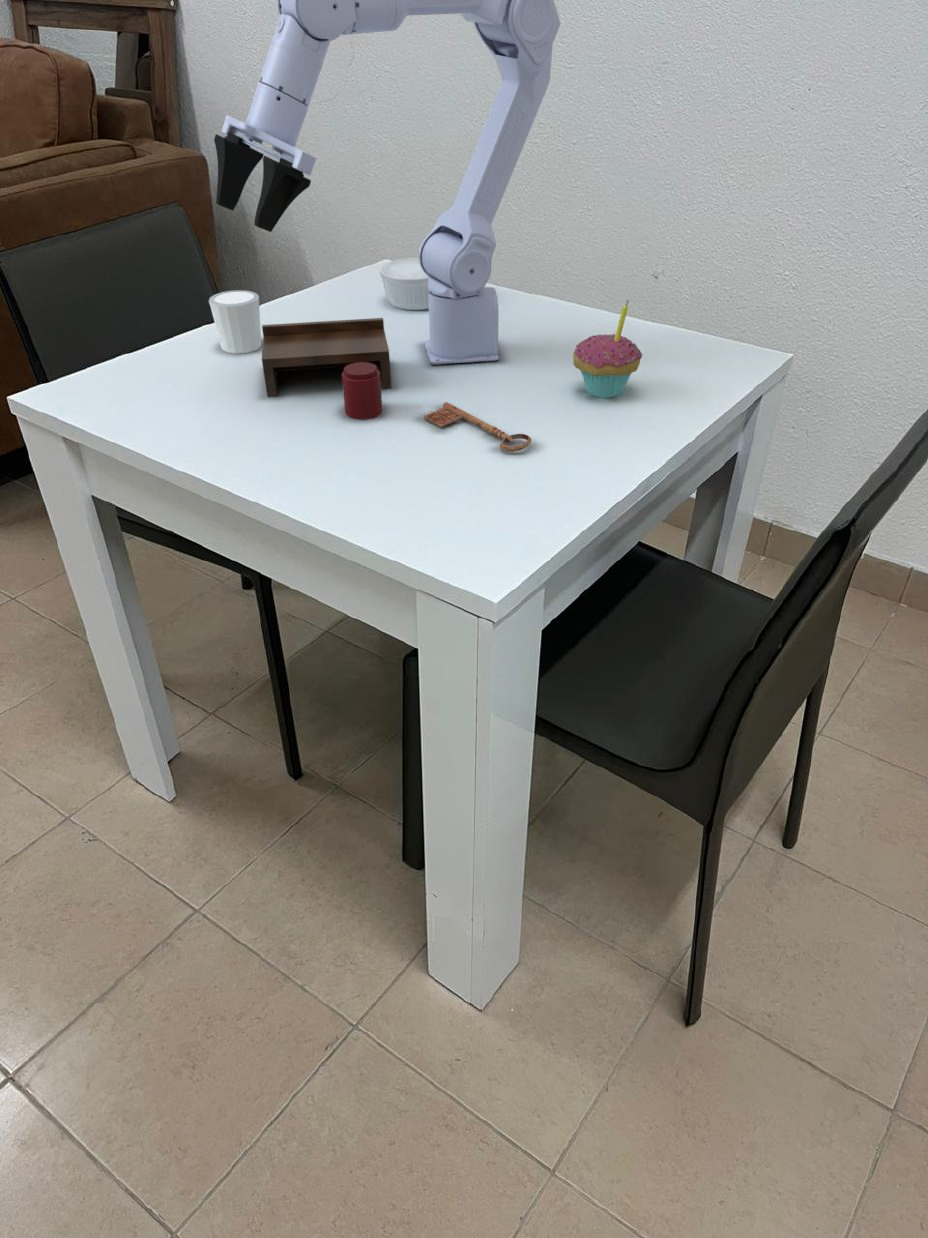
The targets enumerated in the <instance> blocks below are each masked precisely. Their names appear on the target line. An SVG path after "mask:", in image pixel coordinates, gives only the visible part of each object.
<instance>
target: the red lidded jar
mask: <svg viewBox="0 0 928 1238" xmlns="http://www.w3.org/2000/svg"><path fill="white" fill-rule="evenodd" d="M341 378H342V379H341V381H342V391H343V392H342V393H343V403H344V404H343V405H344V412H345V415H346V416H347V417H349V418H351V419H355V420H368V419H369V420H370V419H373V418H376V417H379V416H380V415H381V414H382V412H383V402H382V385H381V380H380V372H379V370H378V366H377V365H374V364H372V363H367V362H357V363H352V364H349V365H347V366H346V367H343V371H342V373H341Z"/></svg>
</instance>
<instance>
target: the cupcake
mask: <svg viewBox="0 0 928 1238" xmlns="http://www.w3.org/2000/svg"><path fill="white" fill-rule="evenodd" d="M629 302H630V299H627V300H626V303H625V304H624V305H622V308H621V312H620V317H619V319H618V323H617V328H616V331H615V333H613V334H611V333H609V334H606V333H604V334H596V335H591V336H588V337H587V338H585V339H584V340H582V341H580V342H579V343H578V344H576V345H575V349H574V351H573V355H572V356H573V357H572V358H573V359H572V360H573V362H572V365H573V367H575V368H576V369H577V370H579V371H580V373H581V376H582V378H583V383H584V385H585V386H584V387H585V391H586V392H587V394H589V395H590V396H593V397H596V398H601V399H610V398H615V397H619V396H621V395H622V394H623V393H624V390H625V388H626V385H627V383H628V381H629V380H630V379H629V378H630V377H631V375H632V373H635V372H636V371H638V369H639V367H640V363H641V359H642V358H643V353H642V352H641V350H640V348H639V347H638V346H637V344H636V343H634V342H633V340H631V339H629V338H627V337H625V336H622V333H623V329H624V325H625V322H626V319H627V318H626V317H627V314H628V308H629V306H628V304H629Z"/></svg>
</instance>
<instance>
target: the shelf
mask: <svg viewBox="0 0 928 1238" xmlns="http://www.w3.org/2000/svg"><path fill="white" fill-rule="evenodd" d="M384 322H385V321H384V318H383V317H374V318H357V319H355V318H354V319H340V320H323V321H307V322H291V323H273V324H262V325H261V330H262V337H263V338H262V352H261V363H262V369H263V371H262V372H263V377H264V382H265V390H266V397H268V398H269V397H277V395H278V393H277V392H278V372H287V371H288V372H289V371H303V370H304V371H305V370H317V369H318V370H319V369H334V368H335V369H336V368H345V367H346V366H347V365H349V364H352V363H357V362H367V363H372V364H374V365H376V366H377V369H378V370H379V372H380V383H381V390H382V389H383V390H385V389H392V376H391V375H392V374H391V361H390V359H391V357H390V350H389V349H390V348H389V345H388V340H387V336H386V332H385V323H384Z"/></svg>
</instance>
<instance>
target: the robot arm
mask: <svg viewBox="0 0 928 1238" xmlns="http://www.w3.org/2000/svg"><path fill="white" fill-rule="evenodd" d="M276 10H277V14H278V21H277V25H276V28H275V31H274V33H273V36H272V39H271V42H270V45H269V48H268V51H267V53H266V58H265V61H264V64H263V67H262V70H261V73H260V76H259V79H258V83H257V86H256V89H255V93H254V95H253V98H252V102H251V105H250V108H249V111H248V115H247V116H246V117H247V118H246V121H245V122H244V121H241V120H239V119H236V118H234V117H232V116H230V115H228V114H226V116H225V119H224V122H223V126H222V128H221V133H223V134H225V136H224V137H223V136H221V135H219V134H217V133H216V134H215V135H214V138H213V142H214V145H215V151H216V158H217V159H216V160H217V185H216V199H215V200H216V202H215V204H216V205H217V206H220V207H223V208H225V209H228V210H230V211H234V210H235V208H236V206H237V205H238V203H239V200H240V198H241V196H242V193H243V191H244V188H245V186H246V183H247V181H248V179H249V177H250V176H251V175H252V173H253V171H254V169H255V168H256V167H257V165H258V164H259V163H260V162H261V161H262V168H263V169H262V172H263V173H262V184H261V191H260V195H259V200H258V204H257V207H256V211H255V215H254V222H253V223H254V224H253V226H255V227H257V228H258V229H262V230H265V231H267V232H269V233H272V232H273V230H274V228H275V227H276V225H277V224H278V223H279V221H280V220H281V218H282V216H283V215H284V213H285V212H286V210H287V209H288V208H289V206H290V205H291V204H292V203H293V202H294V201H295V199H296V198H297V197H298V196H300V195H301V194H302V193H303V192H304V191H305V190H307V189H308V188H309V187H310V186H311V183H312V179H309V178H308V177H305V175H308V176H311V174H312V172H313V168H314V166H315V162H316V160H317V157H315V156H314V155H311V154H309V153H307V152H305V151H303V150H302V149H299V148H296V145H297V143H298V140H299V136H300V133H301V130H302V127H303V124H304V121H305V119H306V116H307V113H308V110H309V107H310V104H311V101H312V97H313V94H314V92H315V89H316V86H317V84H318V83H317V82H318V81H319V77H320V74H321V71H322V68H323V65H324V62H325V58H326V55H327V53H328V49H329V46H330V43H331V42H332V41H335V40H336V39H339V38H340V36H341V35H343V36H348V35H349V36H350V35H359V34H361V35H362V34H370V33H383V32H394V31H397V30H398V29H399V28H400V26H402V24H403V22H404V21H405V19H407V16H409V17H410V16H429V15H430V16H431V15H432V16H433V15H457V14H459V15H461V17H462V18H463V19H464V20H465V21H466V22H469V23H472V24H473V27H474V29H475V31H476V33H477V35H478V37H479V38H480V39H481V40H482V42H483V43H484V45H485V46H486V48H487V50H488V51H489V53H490V54H491V55H492V56H493V58H494V60H495V62H496V65H497V68H498V71H499V74H500V77H501V83H500V86H499V88H498V91H497V93H496V96H495V98H494V101H493V103H492V106H491V108H490V111H489V113H488V116H487V118H486V121H485V124H484V126H483V128H482V132H481V134H480V136H479V139H478V141H477V144H476V146H475V149H474V152H473V154H472V157H471V160H470V162H469V164H468V167H467V170H466V171H465V174H464V177H463V180H462V182H461V185H460V187H459V190H458V191H457V194H456V198H455V199H454V202H453V204H452V206H451V207H450V208H448V209H447V210H446V211H444V212H443V213H442V214H441V215H439V216H438V218H437V219H436V222H435V225H434V227H433V228H432V230H431V231H430V232H429V233H428V234H427V235H426V236H425V237H424V239H423V240H422V241H421V244H420V245H419V249H418V254H417V255H418V256H417V257H419V264H420V267H421V268H422V270H423V271H424V273H425V274H427V275H428V297H429V309H428V319H429V320H428V322H429V323H428V325H429V340H425V341H424V347H425V351H426V355H427V357H428V360H429V363H430V364H431V365H447V364H449V365H450V364H460V363H461V364H464V363H478V362H492V361H493V362H494V361H498V360H499V359H500V355H499V300H498V294H497V290H496V288H495V287H492V286H487V283H488V282H489V280H490V278H491V273H492V260H493V254H494V252H495V249H496V247H497V241H496V237H495V234H494V231H493V226H492V223H493V221H494V219H495V216H496V214H497V212H498V209H499V208H500V207H499V206H500V204H501V202H502V199H503V197H504V194H505V192H506V189H507V187H508V185H509V182H510V180H511V178H512V175H513V173H514V170H515V167H516V165H517V163H518V160H519V158H520V156H521V153H522V151H523V148H524V146H525V143H526V141H527V139H528V136H529V134H530V131H531V129H532V126H533V124H534V122H535V119H536V117H537V114H538V111H539V109H540V107H541V106H542V105H541V104H542V102H543V100H544V97H545V95H546V93H547V90H548V87H549V83H550V82H551V70H552V59H553V58H552V57H553V56H552V55H553V45H554V41H555V39H556V37H557V34H558V32H559V29H560V26H561V20H560V17H559V13H558V10H557V5H556V3H555V0H276ZM263 142H264V143H267V144H268V145H270V146H272V147H271V150H270V149H269V148H265V147H263V146H261V145H263ZM257 143H258V144H257ZM266 155H268V156H269V157H268V156H266ZM273 158H274V159H273Z"/></svg>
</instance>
